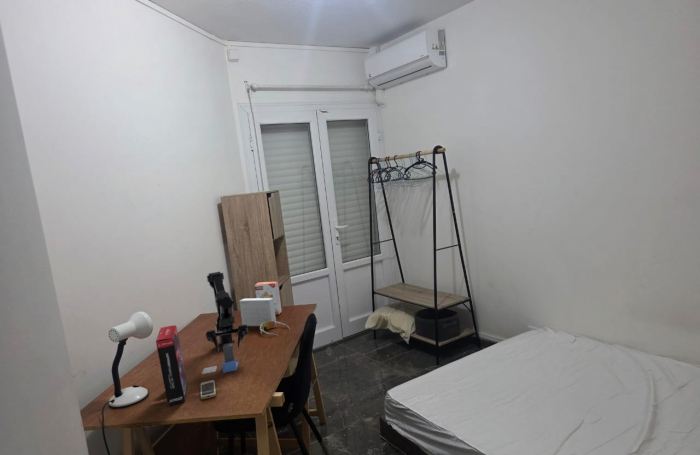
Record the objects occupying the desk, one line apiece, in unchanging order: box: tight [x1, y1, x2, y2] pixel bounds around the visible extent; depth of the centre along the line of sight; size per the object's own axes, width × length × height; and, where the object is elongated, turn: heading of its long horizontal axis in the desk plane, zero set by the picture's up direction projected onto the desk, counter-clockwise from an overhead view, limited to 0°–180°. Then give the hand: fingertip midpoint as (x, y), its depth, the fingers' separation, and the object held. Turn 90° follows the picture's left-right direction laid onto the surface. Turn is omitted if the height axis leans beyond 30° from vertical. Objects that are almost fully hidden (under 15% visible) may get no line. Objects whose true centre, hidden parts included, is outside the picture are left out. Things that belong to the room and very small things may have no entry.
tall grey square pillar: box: [222, 342, 236, 362], centre depth 186 cm, size 4×4×10 cm
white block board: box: [201, 359, 239, 375], centre depth 186 cm, size 20×13×5 cm, turn 103°
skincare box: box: [238, 297, 277, 327], centre depth 243 cm, size 21×5×16 cm, turn 71°
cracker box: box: [254, 281, 282, 316], centre depth 261 cm, size 14×6×21 cm, turn 81°
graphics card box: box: [155, 324, 188, 407], centre depth 165 cm, size 17×7×27 cm, turn 20°
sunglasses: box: [259, 320, 290, 337], centre depth 229 cm, size 14×15×5 cm
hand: (228, 349), depth 186 cm, fingers open, 9 cm apart
